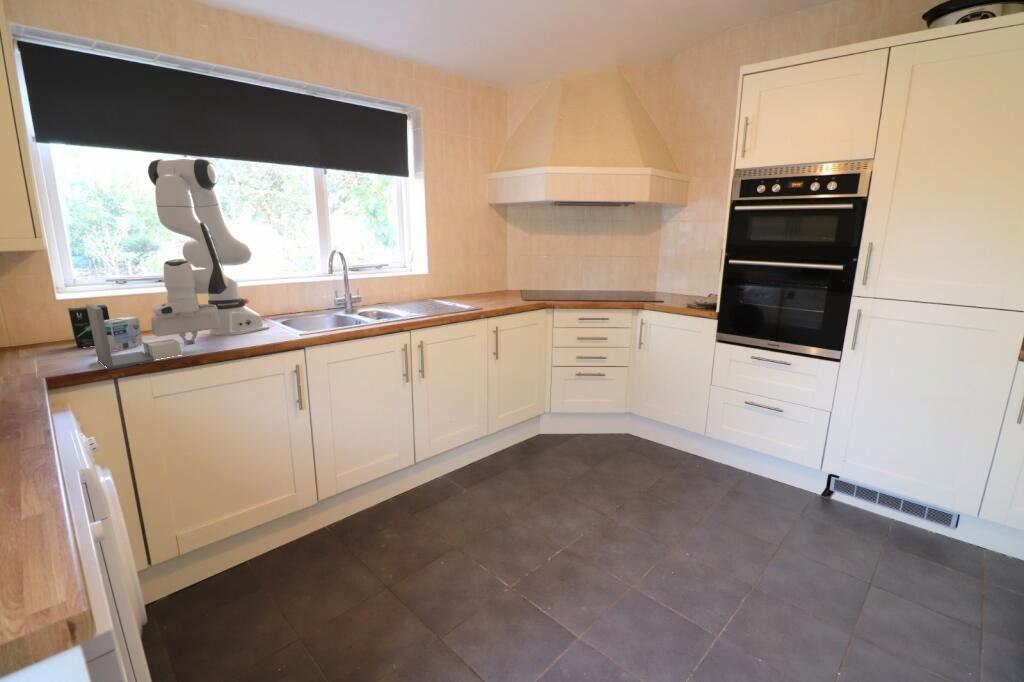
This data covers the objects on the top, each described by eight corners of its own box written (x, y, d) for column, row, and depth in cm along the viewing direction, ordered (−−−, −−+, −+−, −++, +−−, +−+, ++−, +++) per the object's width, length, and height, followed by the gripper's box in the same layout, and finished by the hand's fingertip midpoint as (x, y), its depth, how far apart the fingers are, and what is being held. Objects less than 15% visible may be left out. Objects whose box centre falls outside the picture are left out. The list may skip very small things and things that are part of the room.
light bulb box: (116, 351, 173) (110, 322, 170) (101, 350, 174) (95, 321, 172) (144, 344, 183) (139, 316, 180) (130, 343, 184) (124, 316, 182)
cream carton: (172, 350, 173) (169, 337, 172) (182, 356, 165) (179, 341, 164) (145, 355, 167) (142, 341, 166) (154, 360, 159) (151, 346, 158)
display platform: (142, 354, 168) (132, 300, 164) (154, 361, 158) (143, 304, 154) (98, 361, 159) (86, 304, 155) (107, 369, 149) (95, 309, 145)
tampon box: (112, 340, 190) (105, 304, 187) (115, 344, 184) (107, 306, 180) (75, 345, 183) (67, 307, 179) (77, 349, 176) (68, 310, 173)
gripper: (213, 302, 178) (219, 338, 181) (146, 308, 163) (153, 348, 167) (219, 303, 174) (225, 340, 177) (151, 310, 159) (158, 351, 162)
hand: (190, 344), depth 172 cm, fingers closed
